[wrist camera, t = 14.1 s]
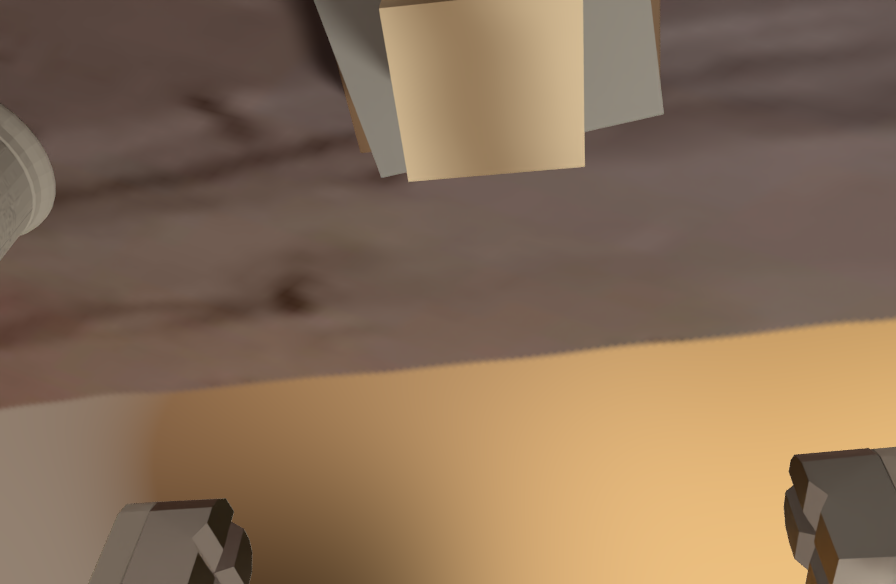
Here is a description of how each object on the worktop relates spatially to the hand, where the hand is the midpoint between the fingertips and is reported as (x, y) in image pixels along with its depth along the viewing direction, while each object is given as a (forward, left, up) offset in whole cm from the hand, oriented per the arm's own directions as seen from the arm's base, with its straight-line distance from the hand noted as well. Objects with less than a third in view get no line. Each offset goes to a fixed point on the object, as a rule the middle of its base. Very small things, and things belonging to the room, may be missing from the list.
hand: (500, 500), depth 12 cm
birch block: (0, 0, -18) cm, 18 cm away
